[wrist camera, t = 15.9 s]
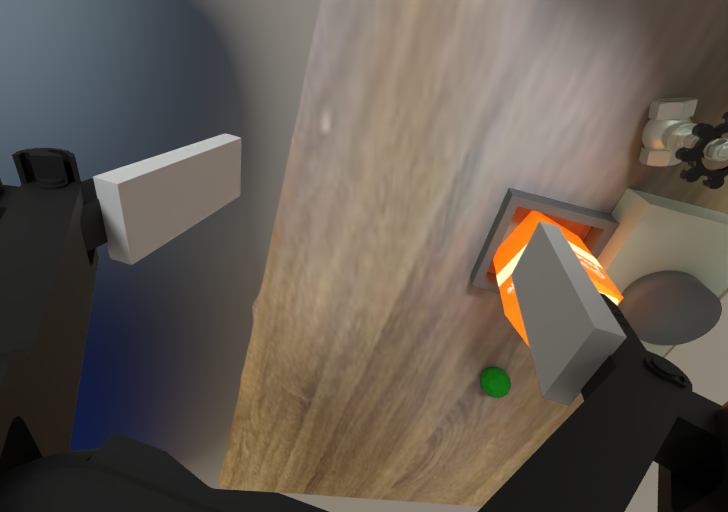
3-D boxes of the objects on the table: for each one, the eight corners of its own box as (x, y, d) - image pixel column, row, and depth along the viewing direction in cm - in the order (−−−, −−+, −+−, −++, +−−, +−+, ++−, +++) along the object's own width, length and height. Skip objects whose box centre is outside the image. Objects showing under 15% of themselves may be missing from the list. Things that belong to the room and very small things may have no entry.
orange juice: (580, 236, 48) (652, 333, 31) (534, 281, 53) (574, 386, 35) (532, 207, 47) (579, 289, 30) (490, 254, 52) (510, 349, 35)
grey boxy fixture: (521, 160, 45) (535, 180, 37) (735, 215, 43) (798, 249, 35) (462, 293, 56) (464, 330, 48) (629, 343, 54) (659, 389, 46)
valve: (699, 93, 38) (791, 105, 28) (683, 155, 41) (761, 186, 31) (629, 102, 40) (691, 116, 29) (618, 160, 43) (671, 192, 32)
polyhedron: (492, 357, 61) (495, 378, 57) (514, 371, 62) (519, 393, 57) (473, 372, 64) (474, 393, 59) (494, 385, 64) (497, 407, 60)
